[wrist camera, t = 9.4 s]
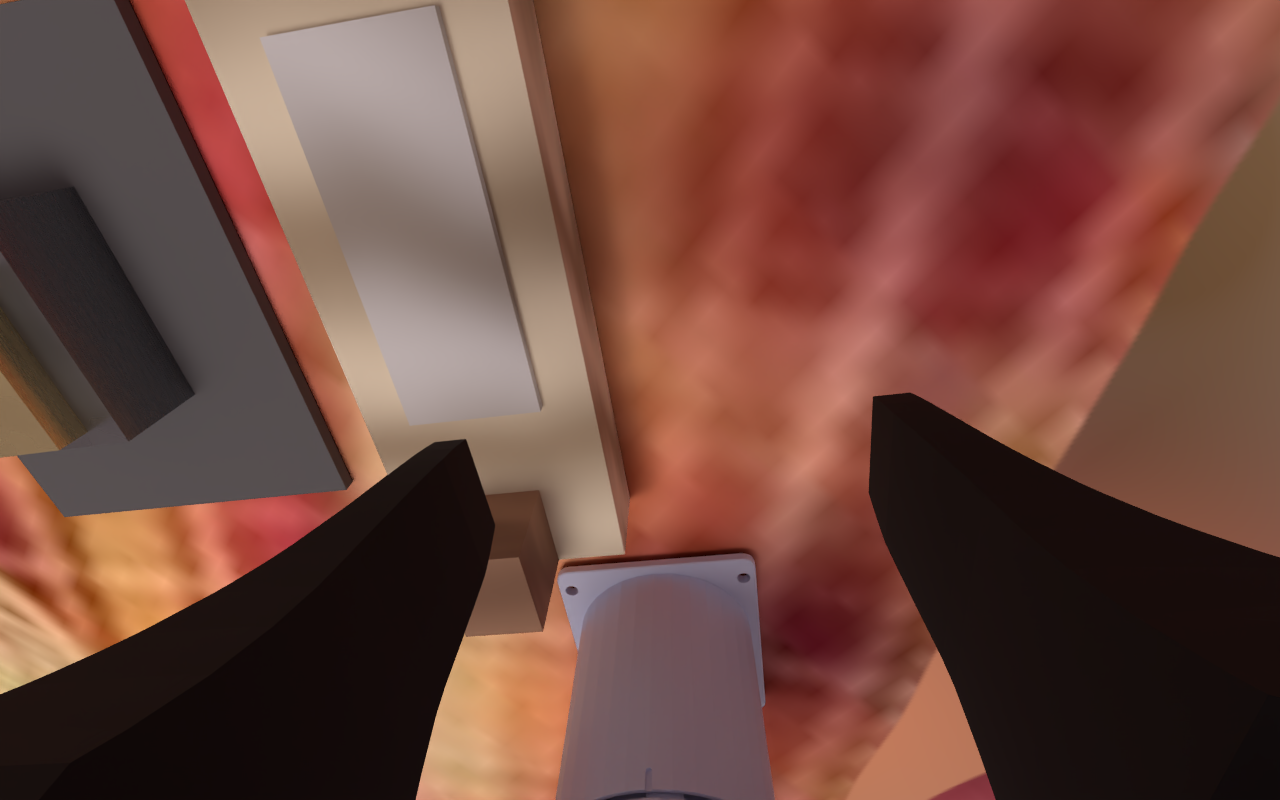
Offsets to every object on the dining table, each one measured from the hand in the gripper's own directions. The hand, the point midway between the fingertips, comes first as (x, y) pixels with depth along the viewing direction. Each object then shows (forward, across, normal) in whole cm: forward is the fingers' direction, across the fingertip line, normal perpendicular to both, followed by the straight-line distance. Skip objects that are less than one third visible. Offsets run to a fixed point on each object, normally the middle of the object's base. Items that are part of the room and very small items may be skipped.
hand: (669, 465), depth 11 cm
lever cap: (+9, +19, -2) cm, 21 cm away
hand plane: (+9, +6, -3) cm, 12 cm away
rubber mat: (+9, +19, -2) cm, 21 cm away
